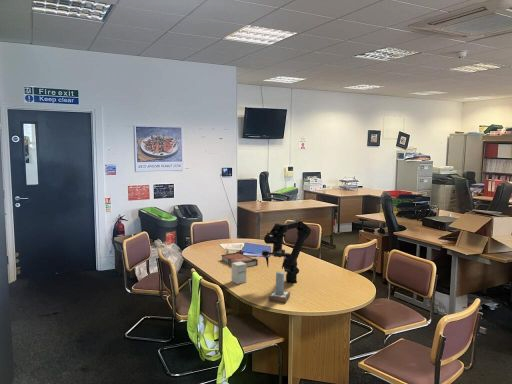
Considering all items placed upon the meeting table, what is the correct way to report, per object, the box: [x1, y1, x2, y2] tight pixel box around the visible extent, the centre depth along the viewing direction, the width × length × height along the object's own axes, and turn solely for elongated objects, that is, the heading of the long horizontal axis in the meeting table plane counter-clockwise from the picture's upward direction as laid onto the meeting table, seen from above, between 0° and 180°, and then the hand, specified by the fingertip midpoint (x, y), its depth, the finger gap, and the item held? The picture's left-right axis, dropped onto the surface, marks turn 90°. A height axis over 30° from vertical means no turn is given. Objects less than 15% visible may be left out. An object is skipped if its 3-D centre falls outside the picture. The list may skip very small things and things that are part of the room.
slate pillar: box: [275, 271, 285, 295], centre depth 233 cm, size 5×5×12 cm
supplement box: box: [231, 261, 247, 285], centre depth 262 cm, size 7×7×13 cm
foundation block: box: [268, 289, 291, 304], centre depth 234 cm, size 10×10×3 cm
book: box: [220, 251, 259, 268], centre depth 305 cm, size 26×18×5 cm
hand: (274, 268), depth 252 cm, fingers open, 9 cm apart
